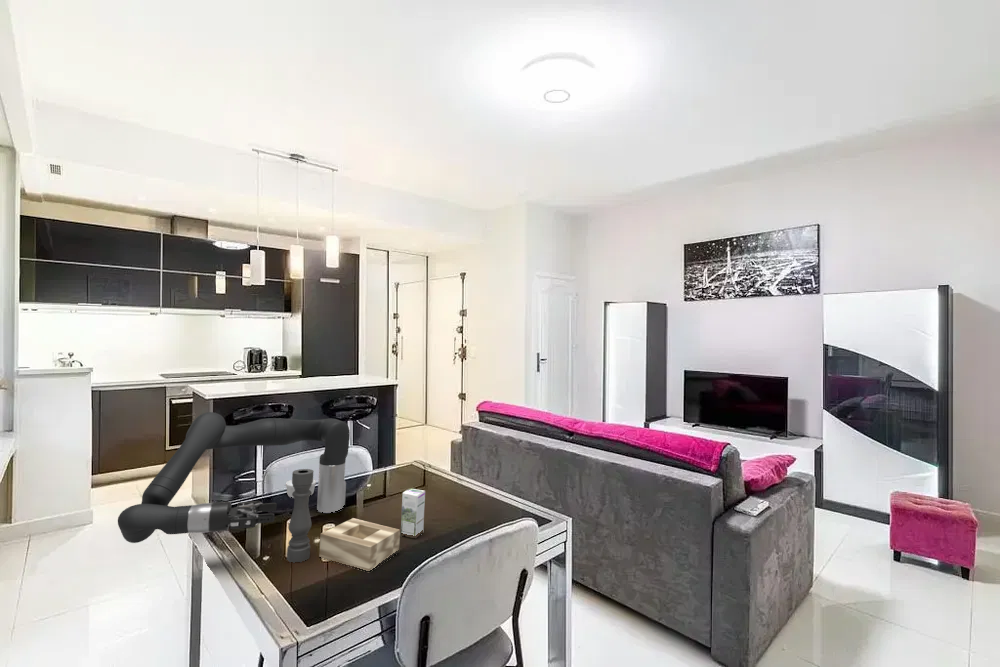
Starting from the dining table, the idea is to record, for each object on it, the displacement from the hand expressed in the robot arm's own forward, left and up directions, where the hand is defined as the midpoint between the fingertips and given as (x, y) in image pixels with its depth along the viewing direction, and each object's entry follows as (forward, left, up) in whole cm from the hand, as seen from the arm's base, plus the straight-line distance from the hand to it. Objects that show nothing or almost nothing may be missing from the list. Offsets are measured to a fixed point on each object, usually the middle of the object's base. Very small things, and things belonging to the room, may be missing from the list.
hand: (275, 511), depth 135 cm
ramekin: (-45, -36, -14) cm, 59 cm away
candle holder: (-5, +5, -14) cm, 16 cm away
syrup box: (-35, +24, -14) cm, 44 cm away
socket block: (-15, +19, -14) cm, 28 cm away
